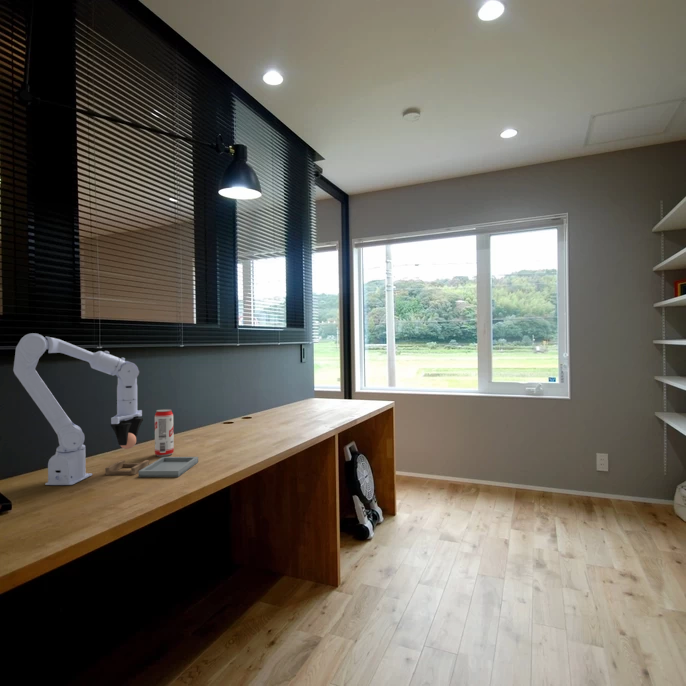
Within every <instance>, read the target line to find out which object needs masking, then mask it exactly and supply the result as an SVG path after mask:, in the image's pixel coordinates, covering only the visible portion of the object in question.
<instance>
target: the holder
mask: <svg viewBox="0 0 686 686" xmlns="http://www.w3.org/2000/svg"><path fill="white" fill-rule="evenodd" d="M148 465H150V460H148V459H145V460H143V461H142V462H138V463H137V462H132V463H131V462H126V461H125V459H122V460H120V461H117V462H115V463H113V464H111V465H109V466H107V467H105V468H104V469H105V472H104V473H105V475H106V476H109V475H110V476H112V475H116V476H117V475H118V476H119V475H120V476H123V475H125V476H126V475H127V476H128V475H129V476H131V475H132V476H134V475H136V474H139V471H140V470H141V469H143V468H145V467H146V466H148ZM123 468H130V470H126V469H125V470H124V469H123ZM121 469H123V470H121Z"/></svg>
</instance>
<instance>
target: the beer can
mask: <svg viewBox="0 0 686 686" xmlns="http://www.w3.org/2000/svg"><path fill="white" fill-rule="evenodd" d="M155 411H156V412H155V415H154V454H155V455H156V457H160V458H162V457H170V456H171V455H172V454H173V453H174V452H175V448H174V447H175V442H174V441H175V440H174V439H175V438H174V413H173V412H172V409H171V408H170V409H169V408H165V409H162V408H161V409H157V410H155Z"/></svg>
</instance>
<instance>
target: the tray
mask: <svg viewBox="0 0 686 686" xmlns="http://www.w3.org/2000/svg"><path fill="white" fill-rule="evenodd" d="M198 463H199V456H163V457H160V458H159V459H157V460H155V461H154V462H152V463H149V465H148V466H146V467H145V468H143V469H141V470H140V471H139V472H138V478H179V477H181V476H182V475H183V474H184V473H186V472H188V470H190V469H191V468H192V467H194V466H195V465H196V464H198Z"/></svg>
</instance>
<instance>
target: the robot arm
mask: <svg viewBox="0 0 686 686" xmlns="http://www.w3.org/2000/svg"><path fill="white" fill-rule="evenodd" d="M47 350H48V351H47ZM45 352H47V353H48V354H57V353H60V354H64V355H67V356H69V357H73V358H75V359H79V360H81V361H85V362H87V363H89V366H90V368H91V369H93V370H96V371H99V372H101V373H104V374H108V375H110V376H116V377H117V385H116V400H117V401H116V403H117V404H116V415H114V416H113V417H110V427H111V429H112V431H113V432H114V435H115V437H116V440H117V443H118V446H120V445H127V440H128V433H132V434H134V435H135V436H136V439H137V438H138V433H139V430H140V427H141V425H142V423H143V421H144V417H142V416H143V410H142V409H139V410H138V376H139V374H140V370H139V367H138V366H137V364H136V363H134V362H131V361H129V360H126V358H125V357H121V358H120V357H118V356H115V355H113V354H110V351H108V350H104V351H102V350H98V351H96V352H92V351H89V350H87V349H85V348H82V347H79V346H77V345H75V344H72V343H70V342H67V341H64V340H62V339H60V338H56V337H50V336H45V337H44V336H43V335H42V334H39V333H36V332H35V333H33V332H32V333H31V332H30V333H27V334H25V335H24V336H23V337H21V338H20V340H19V342H18V343H17V345H16V347H15V353H14V354H15V355H14V361H13V369H12V371H13V373H14V376H15V377H16V378H17V379H18V381H19V383H21V385H22V387H23V388H24V389H25V390H26V392H27V393H28V395H29V396H30V397H31V399H32V401H33V402H34V403H35V405H36V406H37V407H38V409H39V410H40V411H41V413H42V414H43V415H44V417H45V419H46V420H47V422H48V423H49V424H50V426H51V428H52V429H53V430H54V432H55V433H56V435H57V439H58V444H59V445H58V446H57V447H56V451H55V454H54V455H52V456H50V458H49V459H48V463H47V481H46V482H45V483H44V484H45V485H46V486H73V485H76V484H77V483H79V482H81V481H83V480H85V479H87V478H89V477H91V476H93V473H92V472H91V473H88V472H86V467H87V466H86V465H87V464H86V445H85V444H84V442H85V438H86V437H85V433H84V432H83V430H82V428H81V427H80V426H79V425H77V424H75V423H74V422H73V421H72V420H71V418H70V417H69V416H68V414H67V413H66V412H65V410H64V409H63V408H62V406H61V405H60V403H59V402H58V400H57V399H56V397H55V395H53V393H52V391H51V390H50V389H49V388H48V385H47V384H46V383H45V381H44V380H43V379H42V377H41V376H40V375H39V373H38V371H37V370H36V368H37V365H38V363H39V359H40V358H41V357H42V356H43V354H45Z"/></svg>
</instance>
